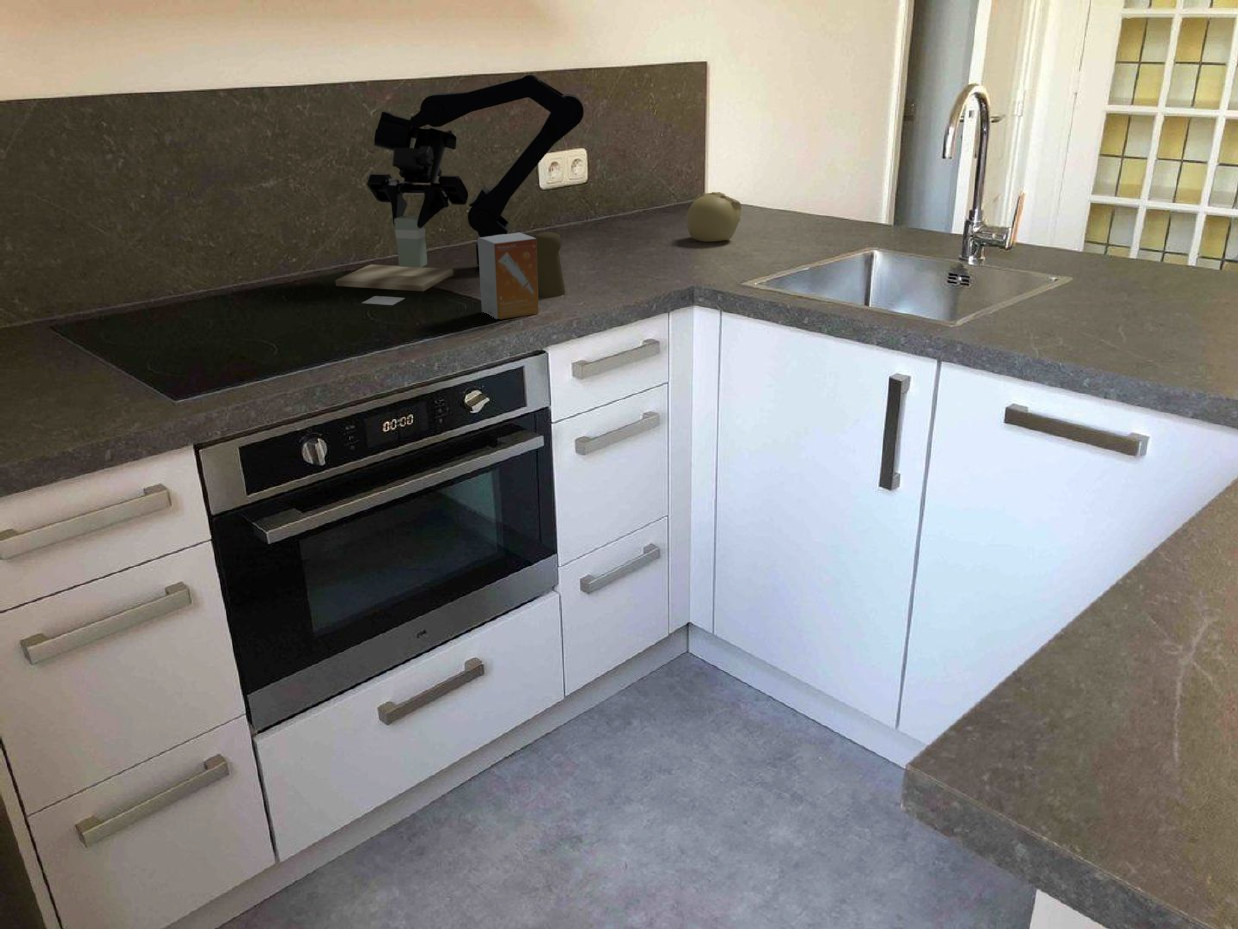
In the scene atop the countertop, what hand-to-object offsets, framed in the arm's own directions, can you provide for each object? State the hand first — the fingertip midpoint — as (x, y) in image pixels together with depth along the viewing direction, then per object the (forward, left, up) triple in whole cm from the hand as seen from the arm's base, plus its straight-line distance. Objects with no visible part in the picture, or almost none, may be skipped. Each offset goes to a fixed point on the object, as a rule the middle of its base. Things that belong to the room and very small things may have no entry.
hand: (407, 226), depth 186 cm
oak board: (+4, -1, -11) cm, 12 cm away
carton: (0, -1, -8) cm, 8 cm away
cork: (-28, +1, -11) cm, 30 cm away
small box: (-26, +16, -11) cm, 32 cm away
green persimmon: (-49, -54, -11) cm, 74 cm away
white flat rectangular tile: (-1, +14, -11) cm, 17 cm away
